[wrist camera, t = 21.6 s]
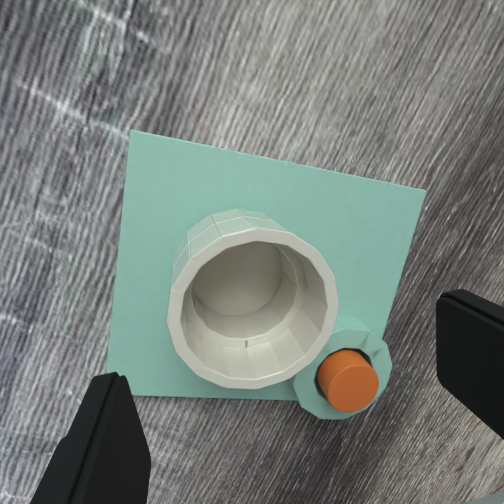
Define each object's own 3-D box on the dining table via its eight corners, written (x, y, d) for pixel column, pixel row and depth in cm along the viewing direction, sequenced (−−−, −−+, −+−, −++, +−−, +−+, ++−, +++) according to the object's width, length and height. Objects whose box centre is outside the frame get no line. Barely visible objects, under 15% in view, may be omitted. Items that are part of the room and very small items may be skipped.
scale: (411, 188, 20) (448, 193, 18) (352, 389, 24) (376, 421, 21) (134, 131, 17) (124, 125, 14) (108, 379, 20) (96, 416, 17)
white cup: (306, 218, 18) (356, 242, 13) (281, 330, 20) (317, 392, 14) (181, 197, 17) (181, 215, 11) (164, 320, 18) (157, 386, 13)
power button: (370, 350, 20) (386, 366, 18) (357, 395, 20) (371, 413, 19) (323, 347, 19) (335, 363, 17) (311, 393, 20) (322, 412, 18)
